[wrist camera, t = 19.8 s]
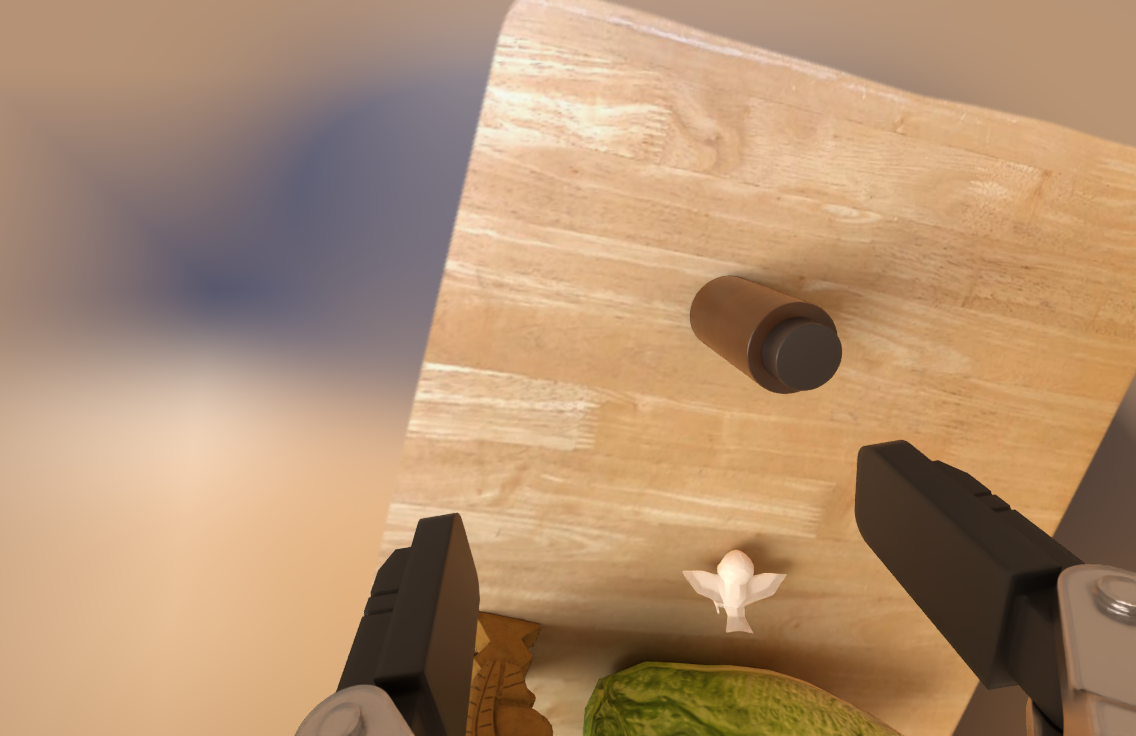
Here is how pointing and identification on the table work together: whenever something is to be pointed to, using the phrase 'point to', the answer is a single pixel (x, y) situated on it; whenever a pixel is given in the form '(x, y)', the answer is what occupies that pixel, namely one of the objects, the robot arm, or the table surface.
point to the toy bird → (734, 587)
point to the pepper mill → (767, 334)
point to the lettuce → (719, 704)
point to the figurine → (503, 680)
